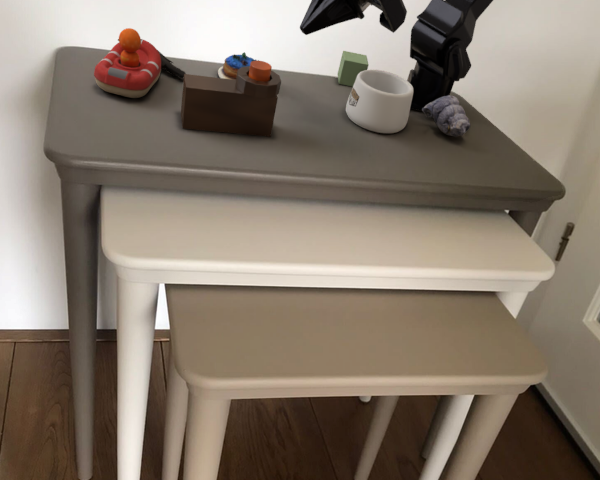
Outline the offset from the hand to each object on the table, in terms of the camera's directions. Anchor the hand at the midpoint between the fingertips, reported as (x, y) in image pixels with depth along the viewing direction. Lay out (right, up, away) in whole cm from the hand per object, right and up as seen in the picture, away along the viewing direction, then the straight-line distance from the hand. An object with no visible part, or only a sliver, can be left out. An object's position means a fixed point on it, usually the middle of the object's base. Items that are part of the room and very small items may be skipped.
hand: (302, 31), depth 87 cm
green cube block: (+8, +3, +25) cm, 26 cm away
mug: (+11, -6, +17) cm, 21 cm away
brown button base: (-10, -11, +5) cm, 16 cm away
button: (-6, -6, +1) cm, 8 cm away
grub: (+22, -7, +18) cm, 30 cm away
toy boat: (-25, -4, +8) cm, 26 cm away
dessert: (-9, 0, +17) cm, 19 cm away
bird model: (-23, +1, +11) cm, 26 cm away
